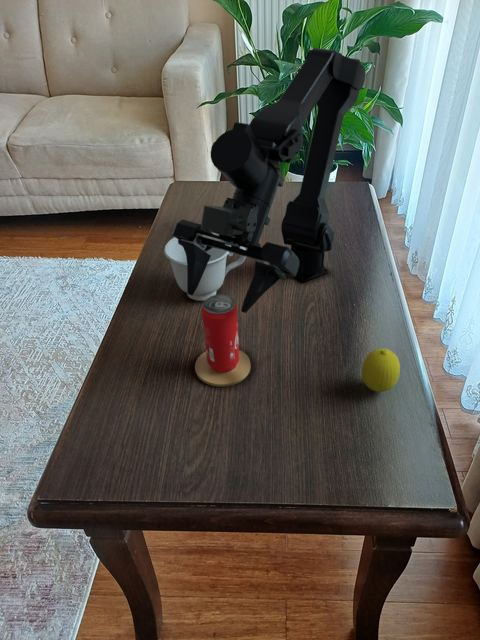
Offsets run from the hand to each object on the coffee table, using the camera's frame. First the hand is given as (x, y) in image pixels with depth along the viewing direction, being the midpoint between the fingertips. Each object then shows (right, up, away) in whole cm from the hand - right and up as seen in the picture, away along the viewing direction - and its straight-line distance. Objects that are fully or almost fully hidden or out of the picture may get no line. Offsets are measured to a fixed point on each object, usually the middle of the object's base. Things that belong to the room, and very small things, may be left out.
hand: (216, 303), depth 76 cm
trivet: (0, -10, +9) cm, 13 cm away
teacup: (-4, +4, +25) cm, 26 cm away
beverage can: (0, -9, +9) cm, 13 cm away
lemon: (+25, -13, +5) cm, 28 cm away
